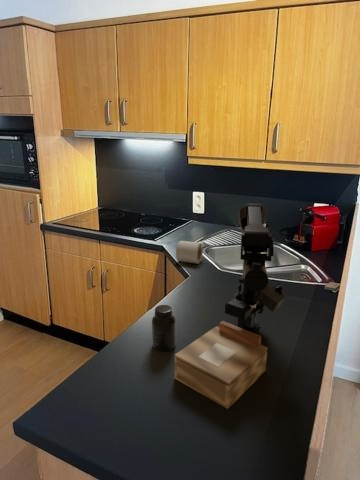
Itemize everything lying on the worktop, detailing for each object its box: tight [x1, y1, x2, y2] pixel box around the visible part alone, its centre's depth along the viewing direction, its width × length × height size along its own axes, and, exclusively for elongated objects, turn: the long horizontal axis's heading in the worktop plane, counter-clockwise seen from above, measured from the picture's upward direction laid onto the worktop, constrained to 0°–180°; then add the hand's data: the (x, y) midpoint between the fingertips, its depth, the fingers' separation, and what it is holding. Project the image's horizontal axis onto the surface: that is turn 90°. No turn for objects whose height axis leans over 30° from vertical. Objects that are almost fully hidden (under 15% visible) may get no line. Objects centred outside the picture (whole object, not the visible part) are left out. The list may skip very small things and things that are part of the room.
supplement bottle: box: [151, 304, 177, 352], centre depth 102 cm, size 7×7×12 cm
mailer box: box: [173, 350, 268, 410], centre depth 91 cm, size 18×16×6 cm
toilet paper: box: [175, 240, 204, 265], centre depth 171 cm, size 10×10×10 cm
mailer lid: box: [174, 320, 268, 385], centre depth 89 cm, size 18×16×3 cm
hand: (249, 327), depth 99 cm, fingers closed
